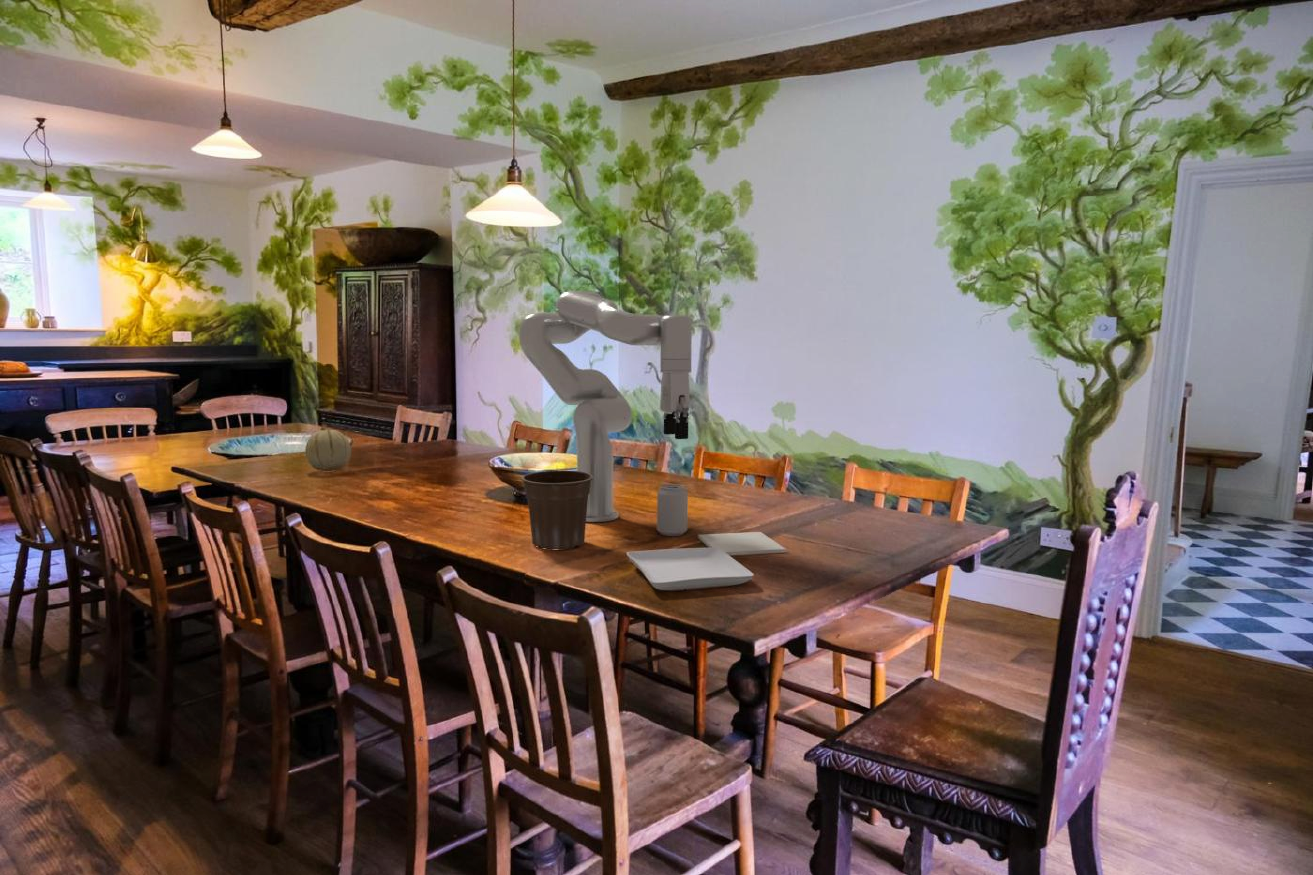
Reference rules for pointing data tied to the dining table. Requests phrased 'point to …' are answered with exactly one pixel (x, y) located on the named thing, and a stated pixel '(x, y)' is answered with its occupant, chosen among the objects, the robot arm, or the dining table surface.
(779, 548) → the mat
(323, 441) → the cantaloupe
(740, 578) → the salad plate
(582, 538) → the plant pot
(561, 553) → the dining table surface
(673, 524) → the can
